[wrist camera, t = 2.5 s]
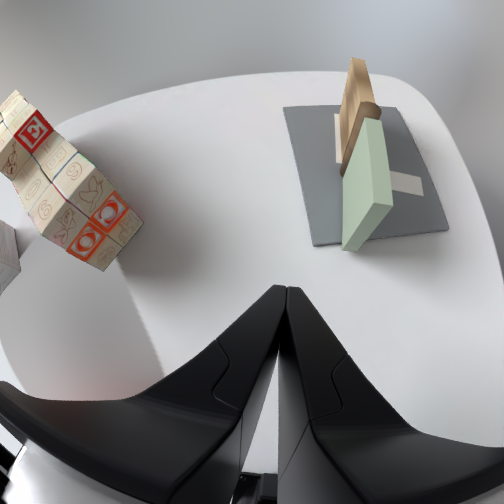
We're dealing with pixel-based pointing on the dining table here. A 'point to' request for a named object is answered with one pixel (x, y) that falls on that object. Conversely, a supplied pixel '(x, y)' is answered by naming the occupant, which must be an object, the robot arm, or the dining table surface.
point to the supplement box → (8, 256)
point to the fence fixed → (355, 109)
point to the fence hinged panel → (366, 186)
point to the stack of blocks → (62, 187)
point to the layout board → (331, 183)
